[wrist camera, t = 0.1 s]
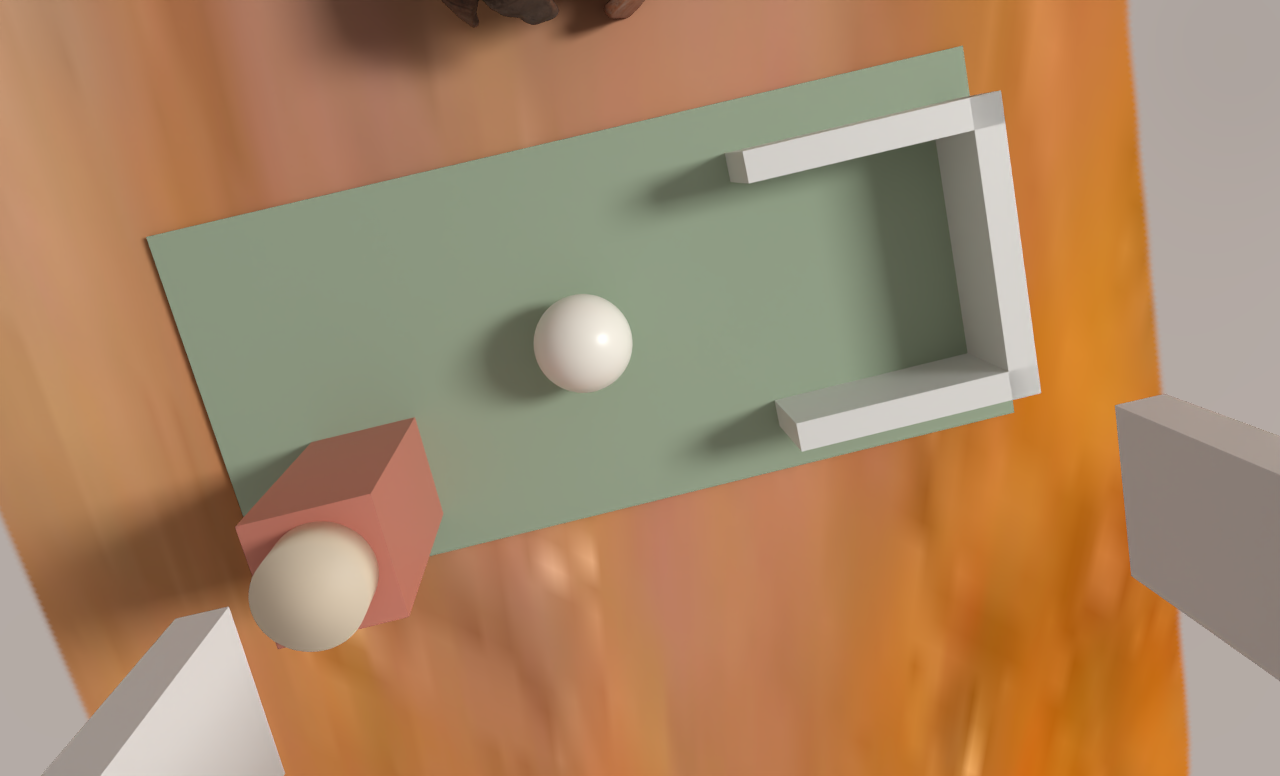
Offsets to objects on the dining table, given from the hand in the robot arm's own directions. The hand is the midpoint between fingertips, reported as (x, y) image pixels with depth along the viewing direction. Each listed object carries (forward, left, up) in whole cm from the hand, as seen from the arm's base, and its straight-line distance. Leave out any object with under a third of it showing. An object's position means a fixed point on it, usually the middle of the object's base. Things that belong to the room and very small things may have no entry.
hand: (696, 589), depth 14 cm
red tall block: (+5, -11, -28) cm, 30 cm away
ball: (+1, -1, -26) cm, 26 cm away
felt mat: (+1, 0, -28) cm, 28 cm away
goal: (+1, +11, -28) cm, 30 cm away
